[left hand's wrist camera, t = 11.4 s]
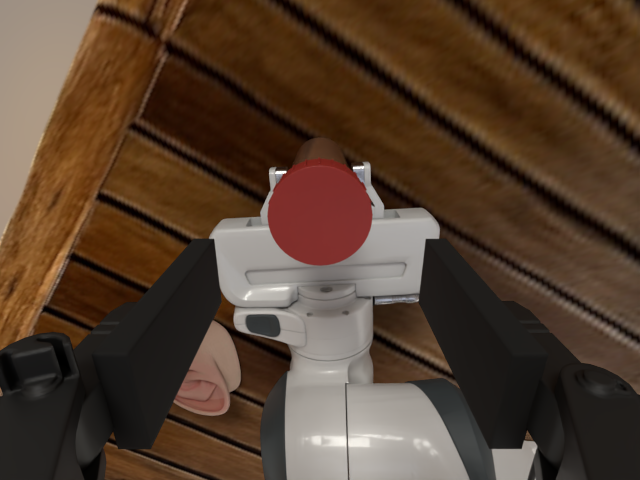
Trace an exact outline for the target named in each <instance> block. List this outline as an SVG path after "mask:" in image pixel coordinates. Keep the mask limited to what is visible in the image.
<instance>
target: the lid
mask: <svg viewBox="0 0 640 480" xmlns="http://www.w3.org/2000/svg"><path fill="white" fill-rule="evenodd" d="M366 190H367V189H366V187H365V185H364V183H363V182H361V181H360V179H359V178H358V176H357V174H356V172H353V171H352V170H351V169H349V168H348V167H346V164H344V165H343V164H341V163H339V162H336V161H334V160H333V159H332V160H328V159H320V158H318V159H311V160H307V159H306V160H305V161H304V162H301V163H299V164H297V165H293V167H292V168H291V169H289V170H288V171H287V172H286V173H283V175H282V177H281V179H280V181H279V182H278V183H276V185H275V187H274V189H273V194H272V196H271V198H270V200H269V202H268V204H269V206H268V215H267V217H268V225H269V229H270V232H271V234H272V237H273V239H274V240H275V242H276V244H277V245H278V246H279V247H280V249H281V250H283V251H284V252H285V253H286V254H287V255H288V256H290V257H291V258H293V259H295V260H297V261H299V262H302V263H305V264H309V265H317V266H323V265H331V264H335V263H338V262H341V261H343V260H345V259H347V258H349V257H350V256H352V255H353V254H354V253H355V252H357V250H358V249H359V248H360V247H361V246H362V245H363V243H364V242H365V240H366V239H367V237H368V235H369V232H370V229H371V225H372V216H373V214H372V206H371V203H372V202H371V199H370V197H369V195H368V193H367V192H366Z"/></svg>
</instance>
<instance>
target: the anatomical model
mask: <svg viewBox="0 0 640 480" xmlns="http://www.w3.org/2000/svg"><path fill="white" fill-rule="evenodd" d="M240 381H241V371H240V365H239V360H238V356H237V352H236V349H235V346H234V343H233V341H232V338H231V337H230V335H229V333H228V332H227V330H226V329H225V328H224V327H223V326H221V325H220V324H219V323H217V322H215V321H214V320H213V321H212V323H211V325H210V327H209V329H208V331H207V333H206V335H205V337H204V339H203V341H202V343H201V345H200V348H199V350H198V352H197V354H196V356H195V358H194V360H193V362H192V364H191V366H190V368H189V370H188V372H187V375H186V377H185V379H184V381H183V383H182V385H181V387H180V389H179V391H178V393H177V395H176V397H175V399H174V403H175V404H177V405H179V406H180V407H182V408H184V409H186V410H189V411H191V412H194V413H197V414H202V415H221V414H223V413H225V412H226V411H227V410H228V408H229V406H230V394H229V392H231V391H233V390H235V389H236V388H237V387H238V386H239V384H240Z"/></svg>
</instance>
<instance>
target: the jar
mask: <svg viewBox="0 0 640 480" xmlns="http://www.w3.org/2000/svg"><path fill="white" fill-rule="evenodd" d="M318 158H320V159H328V160H332V159H333V160H334V161H336V162H339V163H341V164H343V165H344V164H346V167H348V164H347V162H346V159H345V157H344V155H343V152H342V150H341V149H340V147H339V146H338V145H337V144H336V143H335V142H333V141H332V140H330V139H327V138H313V139H310V140H308V141H307V142H305V143H304V144H303V145H302V146H301V147H300V149H299V150H298V152H297V155H296V157H295V159H294V162H293V164H292V167H293V165H297V164H299V163H301V162H304V161H305V160H306V159H307V160H311V159H318ZM292 167H291V168H292ZM348 168H349V167H348Z"/></svg>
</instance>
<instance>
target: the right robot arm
mask: <svg viewBox="0 0 640 480" xmlns="http://www.w3.org/2000/svg"><path fill="white" fill-rule="evenodd" d="M351 170H352V171H353V172H356V174H357V176H358V178H359V179H360V181H361V182H363V183H364V185H365V187H366V189H367V190H366V192H367V193H368V195H369V197H370V199H371V202H372V203H371V206H372V214H373V216H372V225H371V229H370V232H369V235H368V237H367V239H366V240H365V242H364V243H363V245H362V246H361V247H360V248H359V249H358V250H357V252H355V253H354V254H353V255H352V256H350V257H349V258H347V259H345V260H343V261H341V262H338V263H335V264H331V265H323V266H317V265H309V264H305V263H302V262H299V261H297V260H295V259H293V258H291V257H290V256H288V255H287V254H286V253H285V252H284V251H283V250H281V249H280V247H279V246H278V245H277V244H276V242H275V240H274V239H273V237H272V234H271V232H270V229H269V225H268V217H267V215H268V206H269V204H268V202H269V200H270V198H271V196H272V194H273V189H274V187H275V185H276V183H278V182H279V181H280V179H281V177H282V175H283V173H286V172H287V171H288V167H272V168H270V170H269V178H270V187H271V190H270V192H269V194H268V196H267V199H266V201H265V203H264V205H263V207H262V210H261V212H260V214H261V217H248V218H230V219H223V220H222V221H220V223H219V224H218V225H217V226H216V227H215V228H214V230H213V231H212V233H211V234H210V237H209V239H214V240H215V249H216V258H217V266H218V275H219V284H220V289H221V291H222V293H223V294H224V296H225V297H226V299H227V300H228V301H229V302H231V303H232V304H234V305H236V307H235V312H234V325H235V327H236V329H237V330H238V331H240V332H243V333H247V334H252V335H257V336H262V337H266V338H270V339H274V340H277V341H280V342H284V343H287V344H288V346H289V349H290V351H291V354H292V360H291V364H290V371H286V372H285V373H284V374H283V375H282V376H281V378H280V379H279V380H278V382H277V383H276V384H275V386H274V387H273V389H272V390H271V392H270V393H269V395H268V397H267V399H266V402H265V405H264V408H263V413H262V419H261V430H260V439H261V454H262V463H263V471H264V477H265V480H527V479H528V475H529V472H530V468H531V465H532V462H533V459H534V455H535V452H536V449H537V445H536V443H535V442H534V441H525V440H524V443H523V446H522V449H489V447H488V445H487V443H486V441H485V439H484V437H483V435H482V433H481V431H480V429H479V426H478V424H477V422H476V420H475V418H474V416H473V414H472V412H471V410H470V408H469V406H468V404H467V402H466V399H465V397H464V395H463V393H462V391H461V390H460V389H459V388H458V387H456V386H455V385H453V384H452V383H450V382H449V381H447V380H446V379H444V378H437V379H428V380H418V381H408V382H405V383H374V384H373V363H372V359H371V356H370V354H369V350H370V347H371V344H372V340H373V306H374V305H386V304H392V303H393V304H394V303H416V302H418V301H419V292H420V284H421V275H422V266H423V258H424V249H425V240H426V239H439V233H440V228H439V225H438V223H437V221H436V220H435V218H434V217H433V216H432V215H431V214H430V213H429V212H427V211H426V210H425V209H423V208H408V209H390V210H384V205H383V203H382V201H381V200H380V198H379V196H378V195H377V193H376V191H375V190H374V188H373V186H372V185H371V169H370V163H369V162H357V163H351ZM348 453H349V464H348ZM535 480H536V478H535Z"/></svg>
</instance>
